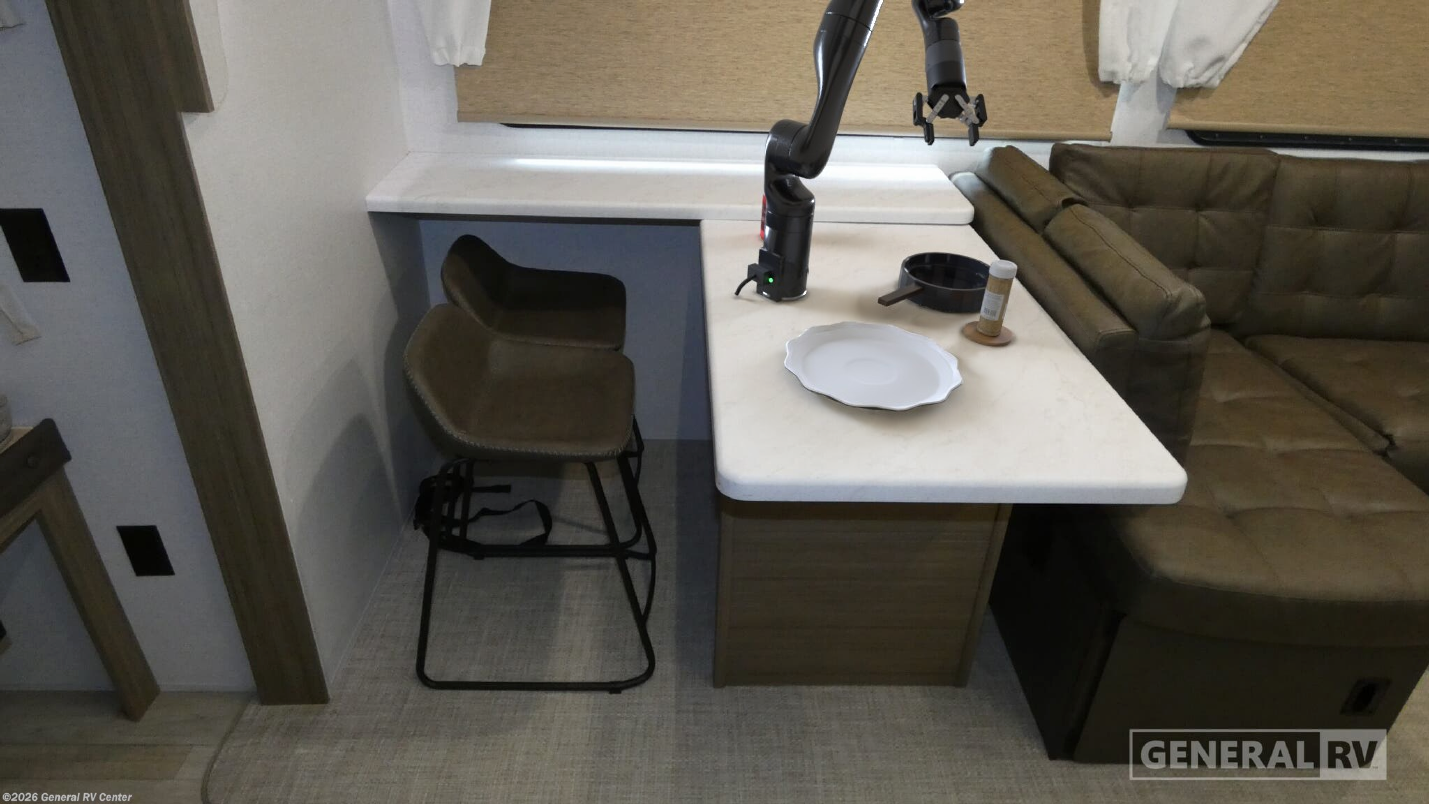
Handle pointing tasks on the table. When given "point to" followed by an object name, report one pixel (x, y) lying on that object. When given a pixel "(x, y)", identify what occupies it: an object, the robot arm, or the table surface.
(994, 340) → the coaster
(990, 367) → the table surface
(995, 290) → the sprinkles bottle
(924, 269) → the pan
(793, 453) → the table surface
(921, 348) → the plate
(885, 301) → the pan handle
